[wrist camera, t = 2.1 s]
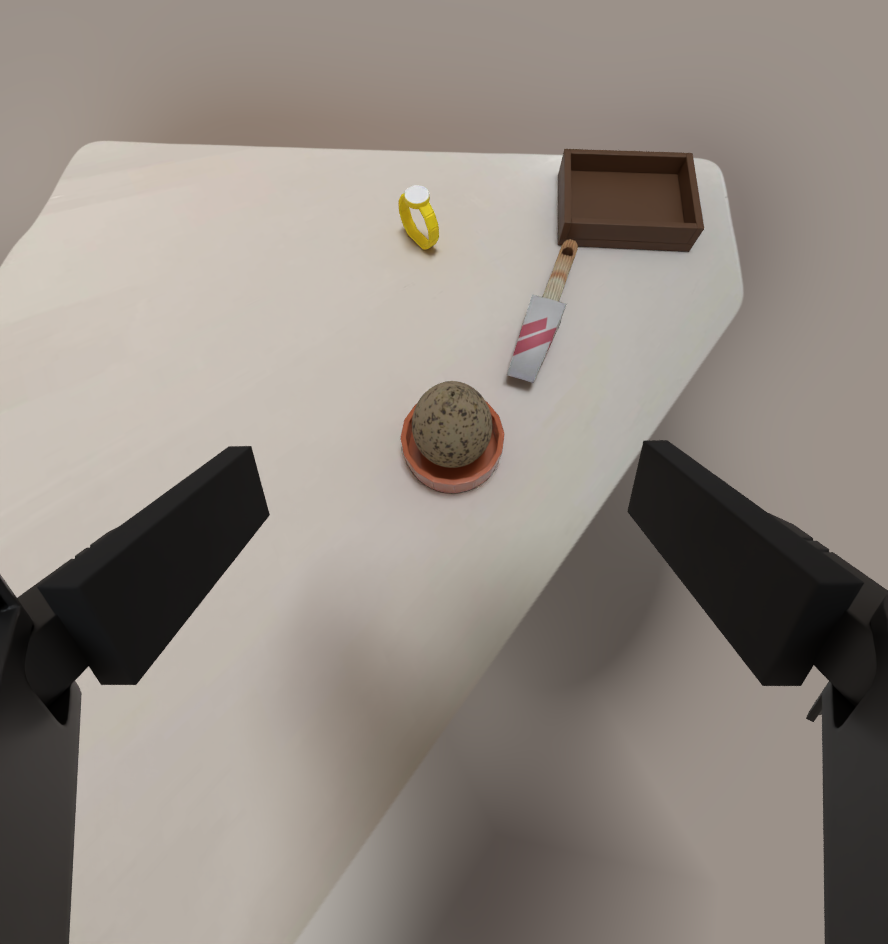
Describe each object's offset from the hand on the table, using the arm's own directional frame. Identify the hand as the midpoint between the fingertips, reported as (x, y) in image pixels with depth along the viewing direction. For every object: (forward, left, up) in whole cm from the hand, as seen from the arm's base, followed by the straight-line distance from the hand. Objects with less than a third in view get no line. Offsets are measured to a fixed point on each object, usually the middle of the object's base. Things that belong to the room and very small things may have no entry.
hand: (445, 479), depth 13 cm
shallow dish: (+9, -6, -23) cm, 25 cm away
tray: (+22, -42, -23) cm, 53 cm away
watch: (+34, -19, -23) cm, 45 cm away
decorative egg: (+9, -6, -23) cm, 25 cm away
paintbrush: (+16, -24, -23) cm, 37 cm away
